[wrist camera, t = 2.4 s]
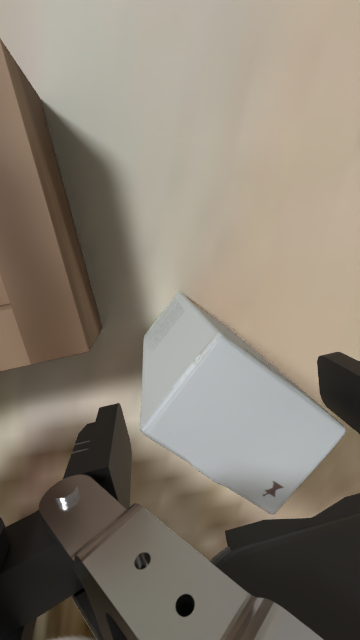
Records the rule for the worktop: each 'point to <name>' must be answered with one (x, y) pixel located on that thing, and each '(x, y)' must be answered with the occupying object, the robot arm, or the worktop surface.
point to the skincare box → (229, 408)
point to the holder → (37, 238)
